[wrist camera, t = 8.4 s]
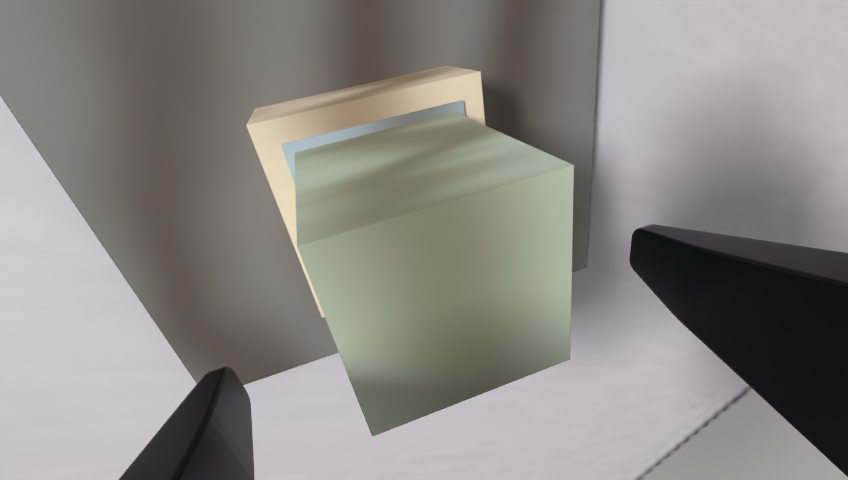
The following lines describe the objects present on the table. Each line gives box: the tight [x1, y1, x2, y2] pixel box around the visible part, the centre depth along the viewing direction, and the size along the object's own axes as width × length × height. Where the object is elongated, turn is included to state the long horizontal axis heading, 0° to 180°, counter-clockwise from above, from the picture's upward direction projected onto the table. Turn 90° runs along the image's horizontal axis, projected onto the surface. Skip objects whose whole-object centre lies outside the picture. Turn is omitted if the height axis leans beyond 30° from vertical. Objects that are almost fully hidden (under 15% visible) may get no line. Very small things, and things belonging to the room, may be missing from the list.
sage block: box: [294, 112, 574, 436], centre depth 10 cm, size 5×5×6 cm
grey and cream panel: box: [0, 0, 600, 385], centre depth 15 cm, size 20×16×4 cm
